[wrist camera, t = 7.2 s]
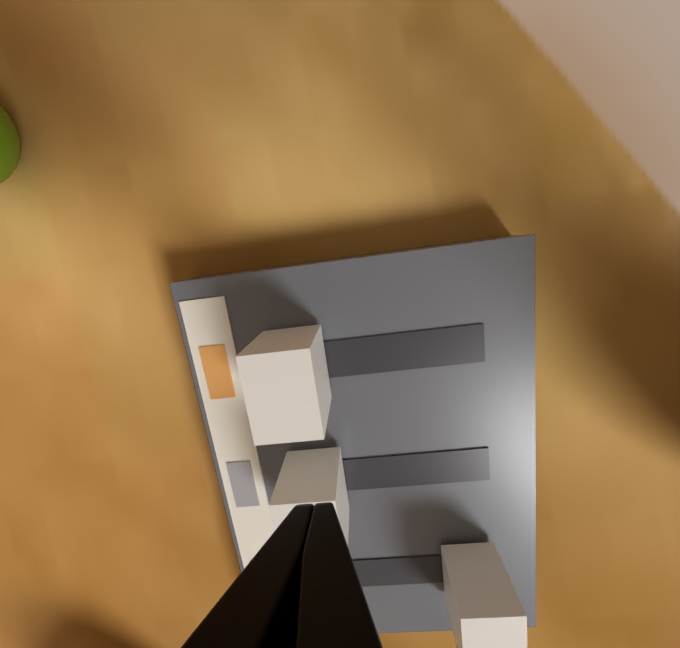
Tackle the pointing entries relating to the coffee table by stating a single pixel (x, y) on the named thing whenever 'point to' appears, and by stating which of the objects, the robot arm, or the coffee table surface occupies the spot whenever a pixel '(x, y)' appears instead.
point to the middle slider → (311, 484)
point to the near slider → (286, 385)
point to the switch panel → (390, 408)
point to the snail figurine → (8, 146)
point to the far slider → (481, 598)
